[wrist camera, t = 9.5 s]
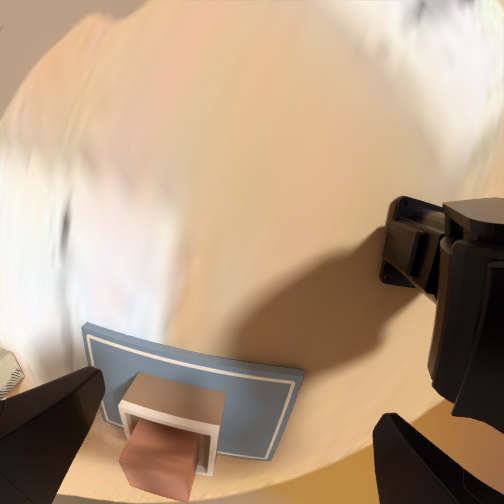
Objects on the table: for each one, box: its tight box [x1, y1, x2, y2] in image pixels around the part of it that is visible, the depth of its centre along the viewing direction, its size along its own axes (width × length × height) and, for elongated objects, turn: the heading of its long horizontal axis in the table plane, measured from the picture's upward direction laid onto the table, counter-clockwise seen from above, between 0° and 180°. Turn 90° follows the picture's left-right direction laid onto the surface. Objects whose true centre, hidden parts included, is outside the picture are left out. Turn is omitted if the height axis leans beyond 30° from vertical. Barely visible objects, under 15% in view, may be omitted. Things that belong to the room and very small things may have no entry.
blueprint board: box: [81, 322, 304, 476], centre depth 21 cm, size 20×14×6 cm
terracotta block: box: [119, 417, 199, 503], centre depth 16 cm, size 5×5×5 cm
